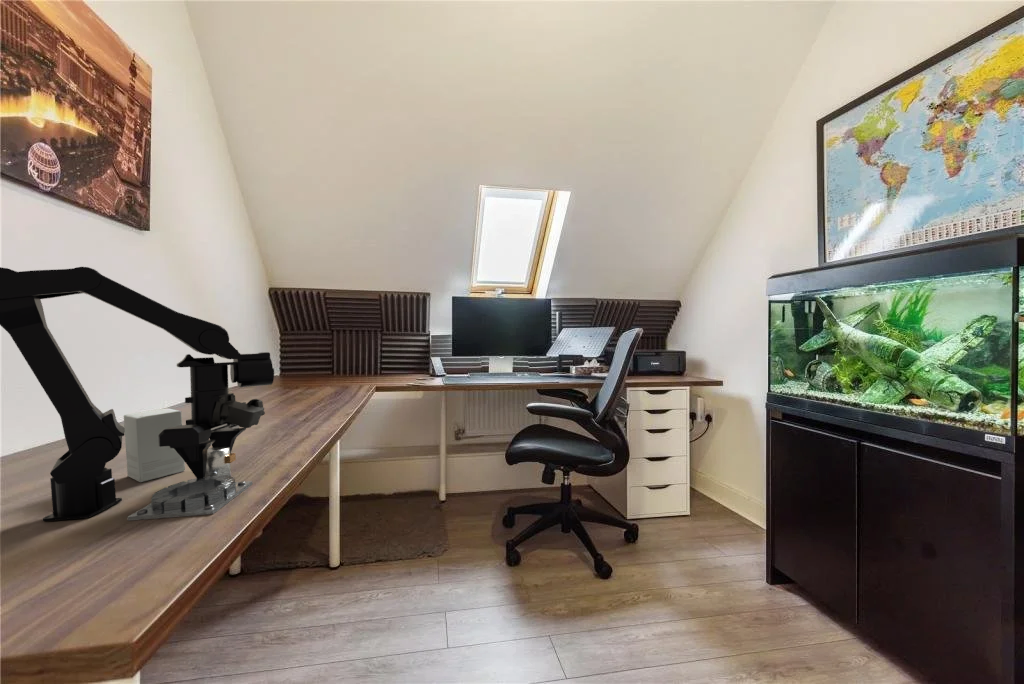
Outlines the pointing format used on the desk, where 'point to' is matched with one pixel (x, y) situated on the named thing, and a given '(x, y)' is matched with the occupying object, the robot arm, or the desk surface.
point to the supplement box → (151, 444)
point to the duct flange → (192, 498)
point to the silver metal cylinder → (219, 461)
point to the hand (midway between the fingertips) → (212, 472)
